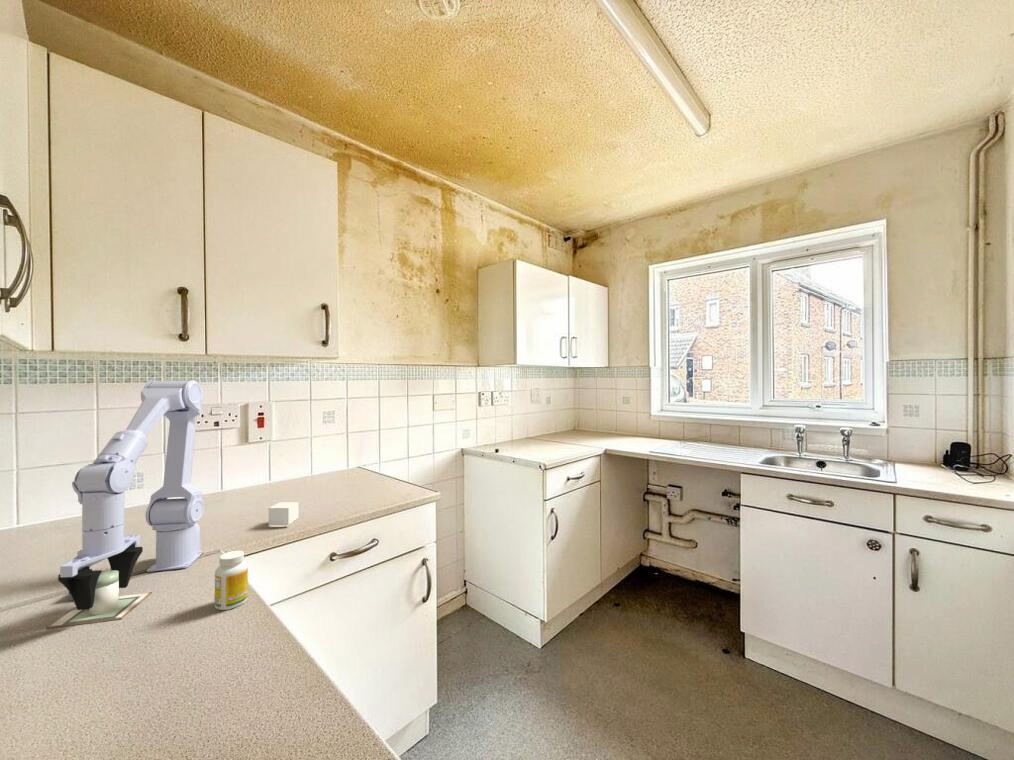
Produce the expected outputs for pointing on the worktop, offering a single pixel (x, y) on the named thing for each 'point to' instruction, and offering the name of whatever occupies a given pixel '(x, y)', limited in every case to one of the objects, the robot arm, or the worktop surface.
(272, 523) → the white cube
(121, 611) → the picture board
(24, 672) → the worktop surface
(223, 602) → the supplement bottle
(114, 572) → the green and cream cylinder
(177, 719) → the worktop surface
